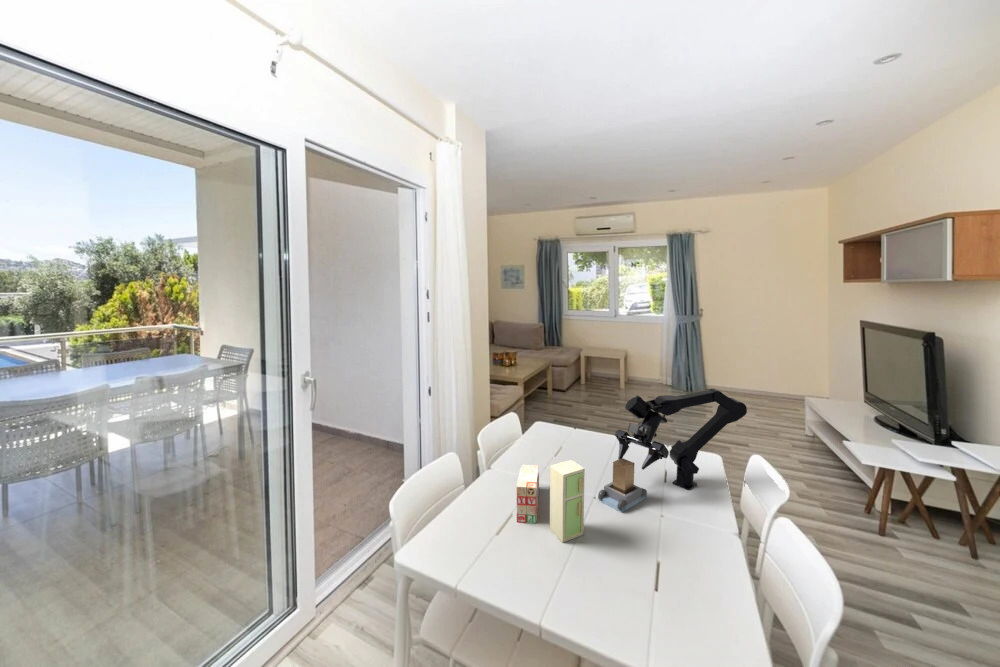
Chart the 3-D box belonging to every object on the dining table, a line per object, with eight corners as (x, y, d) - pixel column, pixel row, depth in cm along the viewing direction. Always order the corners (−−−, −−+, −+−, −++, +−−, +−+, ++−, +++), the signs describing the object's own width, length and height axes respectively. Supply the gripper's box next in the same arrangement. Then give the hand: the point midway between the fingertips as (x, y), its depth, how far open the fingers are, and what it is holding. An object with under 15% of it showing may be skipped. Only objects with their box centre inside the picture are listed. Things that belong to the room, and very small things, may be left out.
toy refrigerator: (563, 544, 111) (564, 475, 108) (549, 530, 117) (549, 464, 115) (585, 536, 114) (586, 469, 112) (570, 523, 121) (571, 459, 118)
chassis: (624, 487, 142) (624, 475, 142) (646, 497, 135) (647, 485, 134) (598, 501, 133) (598, 489, 132) (620, 513, 126) (620, 500, 125)
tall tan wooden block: (620, 490, 137) (621, 457, 136) (633, 496, 133) (634, 463, 132) (612, 494, 134) (613, 461, 133) (624, 501, 130) (625, 467, 129)
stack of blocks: (522, 488, 142) (522, 456, 141) (539, 489, 142) (539, 457, 140) (516, 522, 121) (516, 485, 120) (536, 524, 121) (536, 487, 119)
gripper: (617, 408, 143) (598, 444, 138) (665, 421, 129) (646, 462, 123) (629, 423, 149) (611, 459, 144) (676, 438, 134) (658, 478, 129)
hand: (630, 464), depth 135 cm, fingers open, 9 cm apart
